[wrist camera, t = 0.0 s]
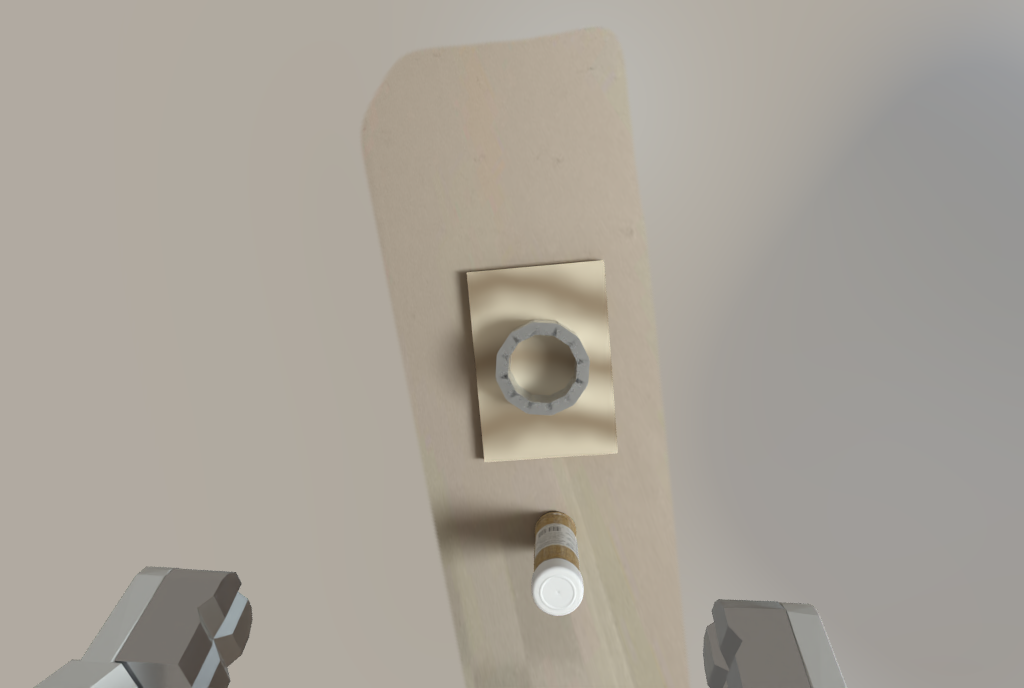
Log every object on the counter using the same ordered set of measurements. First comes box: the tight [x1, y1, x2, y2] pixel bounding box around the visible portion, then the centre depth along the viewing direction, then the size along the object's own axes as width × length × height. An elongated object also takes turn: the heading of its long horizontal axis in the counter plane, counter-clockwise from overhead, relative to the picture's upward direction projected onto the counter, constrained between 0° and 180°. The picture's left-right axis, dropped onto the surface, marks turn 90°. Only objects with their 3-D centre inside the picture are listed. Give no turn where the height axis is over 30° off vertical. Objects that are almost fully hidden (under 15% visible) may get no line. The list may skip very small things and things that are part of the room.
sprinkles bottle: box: [532, 512, 584, 616], centre depth 60 cm, size 5×5×14 cm
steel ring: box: [496, 319, 590, 416], centre depth 62 cm, size 9×9×4 cm
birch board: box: [467, 260, 618, 462], centre depth 64 cm, size 20×14×1 cm
